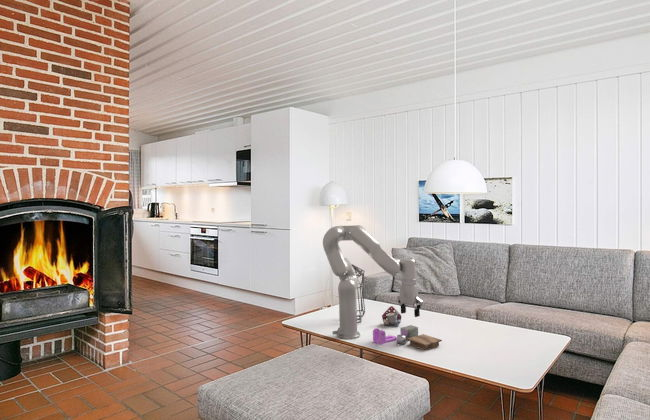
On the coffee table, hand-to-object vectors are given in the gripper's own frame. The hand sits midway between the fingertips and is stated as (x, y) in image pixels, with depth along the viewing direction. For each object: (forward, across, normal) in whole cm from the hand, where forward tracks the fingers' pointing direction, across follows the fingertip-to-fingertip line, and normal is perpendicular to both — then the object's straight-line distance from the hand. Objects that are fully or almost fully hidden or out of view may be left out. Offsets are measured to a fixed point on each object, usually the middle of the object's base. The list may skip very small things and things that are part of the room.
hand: (410, 314), depth 221 cm
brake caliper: (+13, -24, +10) cm, 29 cm away
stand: (+13, +11, -3) cm, 17 cm away
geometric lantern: (+12, -46, -3) cm, 47 cm away
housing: (+13, -1, -1) cm, 13 cm away
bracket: (+13, -6, -13) cm, 19 cm away
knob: (+13, +2, -10) cm, 16 cm away
